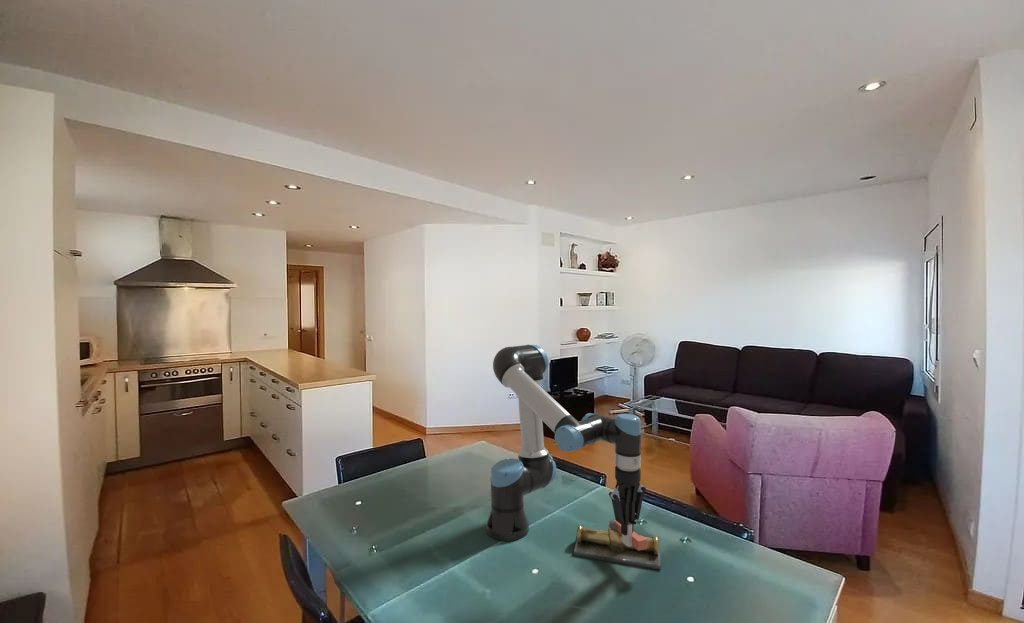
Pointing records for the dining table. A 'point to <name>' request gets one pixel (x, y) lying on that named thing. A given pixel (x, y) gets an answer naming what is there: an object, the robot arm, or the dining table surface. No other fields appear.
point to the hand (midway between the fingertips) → (627, 544)
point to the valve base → (618, 555)
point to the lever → (637, 540)
